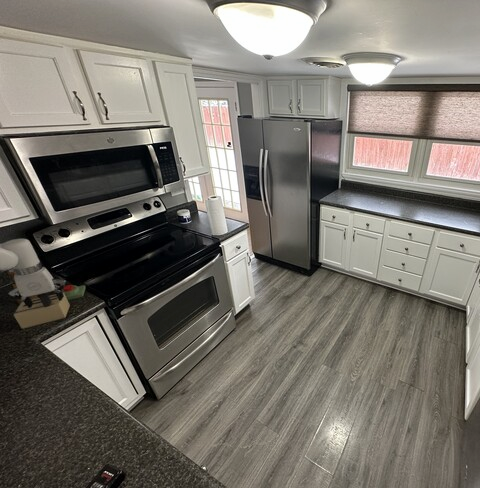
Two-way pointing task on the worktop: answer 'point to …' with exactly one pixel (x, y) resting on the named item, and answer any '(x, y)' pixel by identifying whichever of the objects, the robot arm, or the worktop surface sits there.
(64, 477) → the worktop surface
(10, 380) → the worktop surface
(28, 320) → the toaster
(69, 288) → the button
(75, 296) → the panel
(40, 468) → the worktop surface
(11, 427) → the worktop surface
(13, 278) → the wooden pepper mill
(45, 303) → the slider
